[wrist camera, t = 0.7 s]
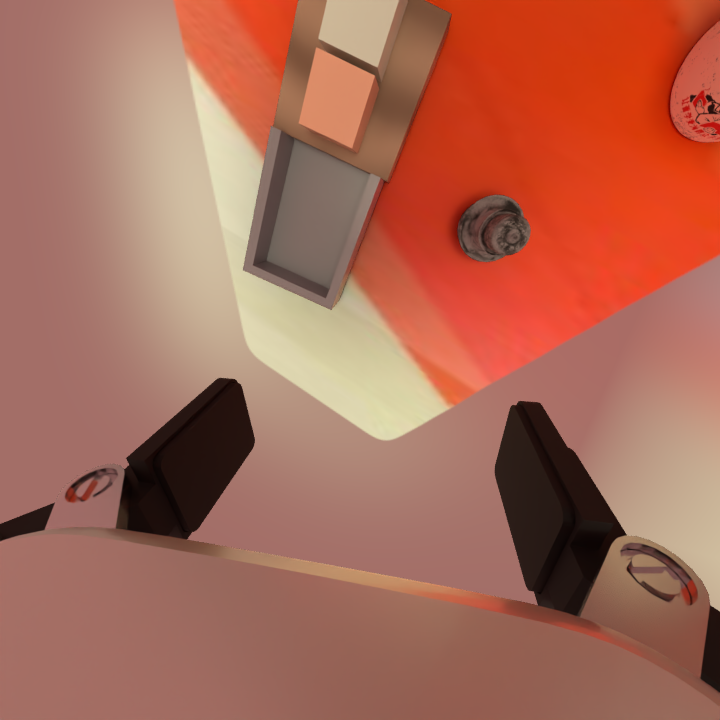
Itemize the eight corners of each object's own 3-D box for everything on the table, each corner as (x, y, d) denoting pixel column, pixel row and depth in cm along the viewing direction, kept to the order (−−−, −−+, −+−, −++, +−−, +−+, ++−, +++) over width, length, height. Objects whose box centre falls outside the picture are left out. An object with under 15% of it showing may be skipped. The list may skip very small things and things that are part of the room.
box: (287, 135, 30) (271, 125, 27) (384, 181, 31) (380, 177, 27) (259, 264, 37) (242, 269, 34) (339, 300, 38) (331, 309, 34)
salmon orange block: (326, 63, 26) (316, 47, 23) (379, 89, 26) (374, 75, 23) (309, 131, 28) (298, 123, 25) (358, 154, 28) (351, 148, 25)
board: (319, -34, 25) (309, -58, 23) (448, 30, 25) (451, 13, 23) (283, 133, 30) (272, 127, 28) (389, 183, 31) (386, 181, 29)
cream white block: (349, -27, 23) (340, -58, 20) (407, 2, 23) (406, -25, 20) (328, 56, 25) (318, 38, 23) (381, 81, 25) (377, 67, 23)
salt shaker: (446, 250, 33) (461, 269, 22) (466, 190, 30) (492, 180, 20) (499, 262, 33) (538, 288, 22) (523, 203, 30) (582, 200, 19)
